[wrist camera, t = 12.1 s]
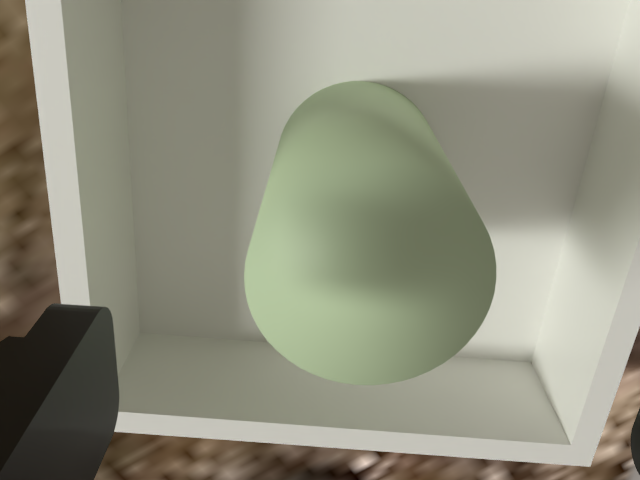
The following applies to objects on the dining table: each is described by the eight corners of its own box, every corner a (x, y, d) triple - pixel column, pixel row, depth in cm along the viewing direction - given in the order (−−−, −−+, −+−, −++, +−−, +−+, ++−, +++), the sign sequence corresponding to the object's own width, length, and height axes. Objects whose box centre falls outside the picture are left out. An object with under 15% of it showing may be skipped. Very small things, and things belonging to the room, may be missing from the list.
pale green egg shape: (281, 74, 18) (247, 153, 11) (447, 87, 18) (520, 174, 11) (274, 226, 20) (241, 376, 13) (422, 238, 21) (471, 393, 13)
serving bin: (92, -156, 17) (1, -197, 12) (674, -105, 17) (800, -127, 12) (125, 336, 23) (76, 428, 19) (540, 368, 24) (590, 466, 19)
